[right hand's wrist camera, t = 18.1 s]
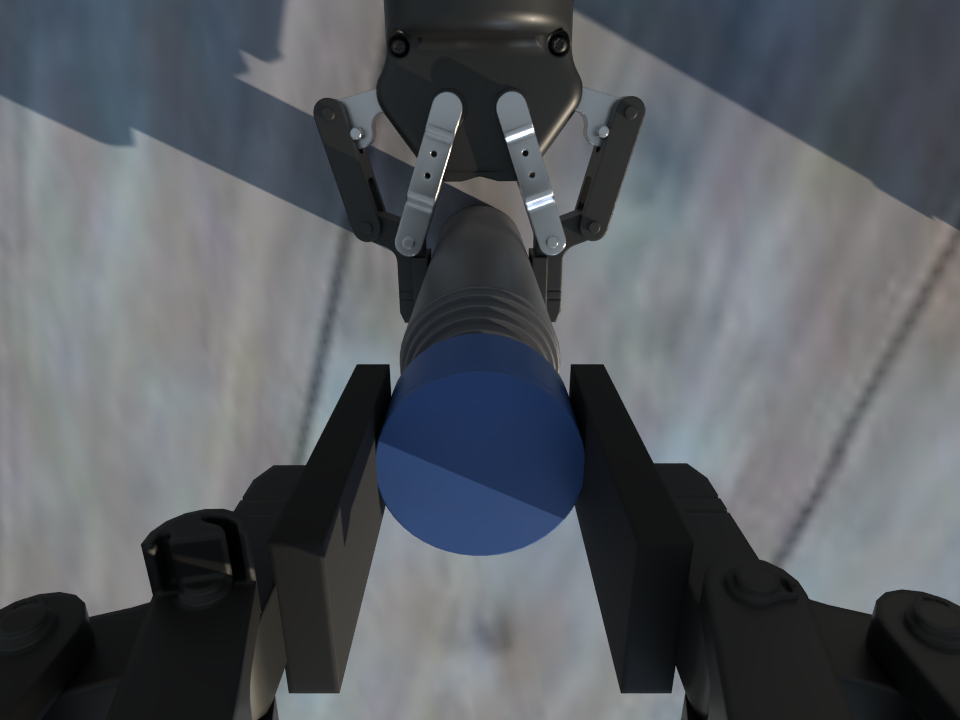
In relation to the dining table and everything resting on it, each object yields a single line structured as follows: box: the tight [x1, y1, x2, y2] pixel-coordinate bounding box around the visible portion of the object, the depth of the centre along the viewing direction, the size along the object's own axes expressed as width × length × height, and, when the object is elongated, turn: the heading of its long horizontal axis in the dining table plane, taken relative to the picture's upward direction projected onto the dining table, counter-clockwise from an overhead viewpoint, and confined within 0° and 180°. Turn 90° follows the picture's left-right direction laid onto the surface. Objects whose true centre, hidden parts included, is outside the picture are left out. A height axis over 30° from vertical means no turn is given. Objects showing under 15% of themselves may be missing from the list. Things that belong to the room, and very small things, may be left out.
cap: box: [376, 333, 585, 556], centre depth 14 cm, size 4×4×2 cm
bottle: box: [400, 205, 560, 374], centre depth 24 cm, size 5×5×23 cm
